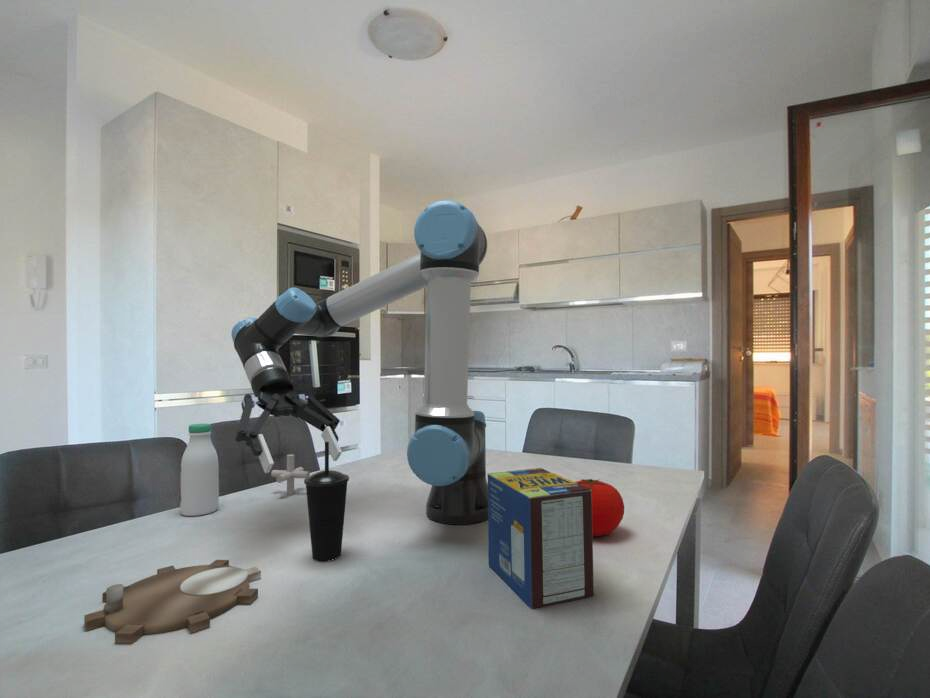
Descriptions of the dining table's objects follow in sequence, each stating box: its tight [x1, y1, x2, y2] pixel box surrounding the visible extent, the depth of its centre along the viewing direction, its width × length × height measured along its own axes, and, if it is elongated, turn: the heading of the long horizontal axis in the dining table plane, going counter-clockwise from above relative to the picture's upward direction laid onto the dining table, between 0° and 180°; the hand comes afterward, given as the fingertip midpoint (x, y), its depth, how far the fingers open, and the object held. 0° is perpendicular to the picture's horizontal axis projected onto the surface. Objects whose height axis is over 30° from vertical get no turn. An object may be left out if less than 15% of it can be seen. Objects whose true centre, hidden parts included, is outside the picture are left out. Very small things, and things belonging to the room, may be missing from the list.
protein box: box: [487, 467, 595, 609], centre depth 75 cm, size 10×15×16 cm
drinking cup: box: [303, 442, 350, 562], centre depth 85 cm, size 8×8×20 cm
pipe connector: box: [270, 454, 311, 496], centre depth 125 cm, size 10×10×10 cm
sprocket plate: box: [83, 559, 262, 645], centre depth 70 cm, size 22×22×4 cm
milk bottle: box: [179, 423, 220, 517], centre depth 111 cm, size 8×8×20 cm
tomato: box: [574, 478, 625, 537], centre depth 95 cm, size 12×12×10 cm
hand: (305, 462), depth 89 cm, fingers open, 13 cm apart
